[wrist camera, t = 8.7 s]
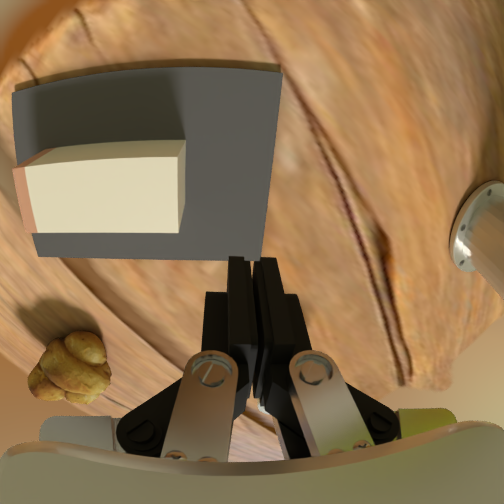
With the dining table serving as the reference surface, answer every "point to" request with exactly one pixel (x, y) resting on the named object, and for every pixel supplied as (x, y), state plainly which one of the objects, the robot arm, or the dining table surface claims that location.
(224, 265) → the dining table surface
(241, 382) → the robot arm
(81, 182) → the cream block
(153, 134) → the rubber mat
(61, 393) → the bread roll
